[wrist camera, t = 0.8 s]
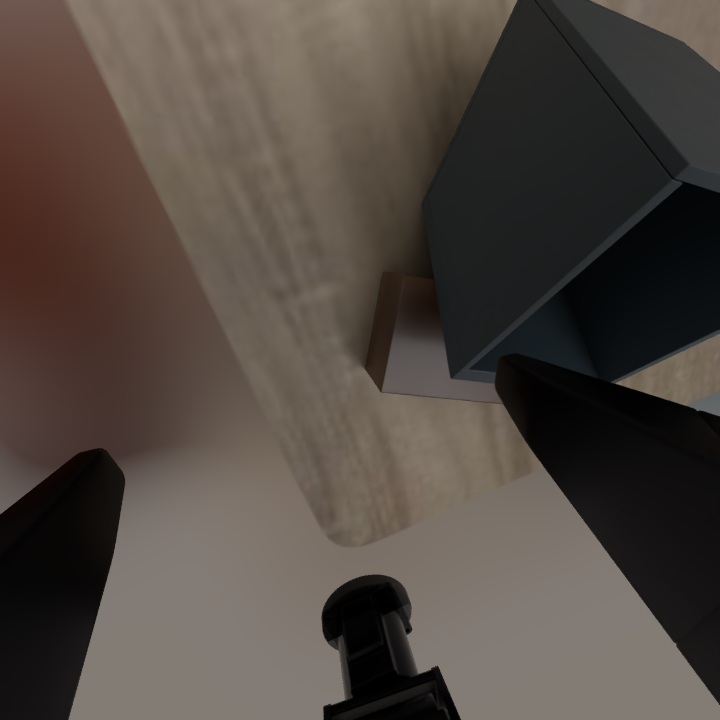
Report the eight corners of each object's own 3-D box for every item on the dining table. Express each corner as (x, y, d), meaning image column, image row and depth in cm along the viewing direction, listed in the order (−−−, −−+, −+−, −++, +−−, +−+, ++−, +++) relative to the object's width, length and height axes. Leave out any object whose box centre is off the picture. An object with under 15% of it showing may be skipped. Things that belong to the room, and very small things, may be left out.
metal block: (503, 384, 23) (544, 408, 20) (364, 369, 21) (380, 392, 17) (529, 298, 22) (578, 305, 18) (382, 271, 20) (404, 273, 16)
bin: (493, 351, 23) (784, 481, 9) (394, 337, 21) (574, 471, 8) (560, 110, 19) (1179, -233, 6) (447, 71, 17) (945, -524, 4)
